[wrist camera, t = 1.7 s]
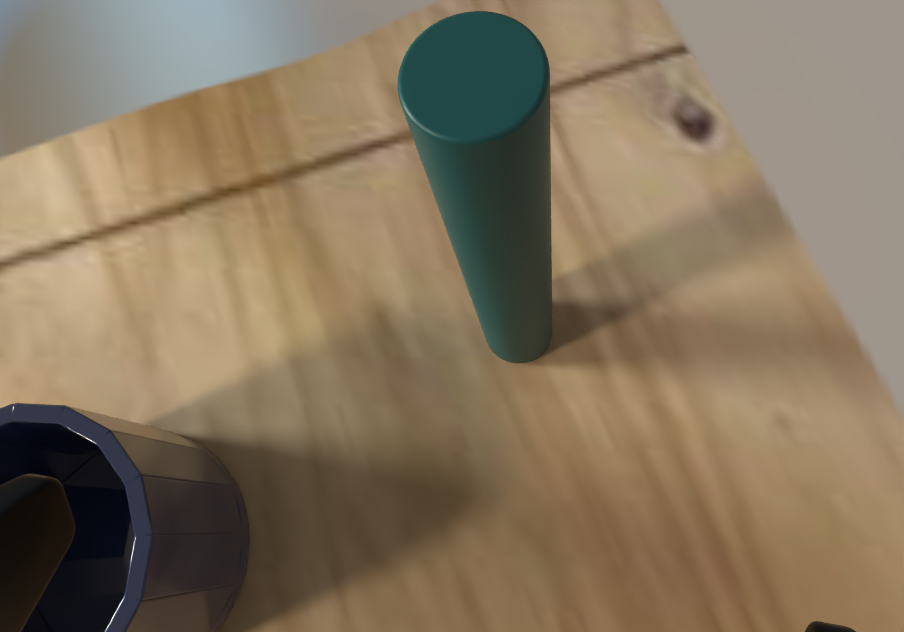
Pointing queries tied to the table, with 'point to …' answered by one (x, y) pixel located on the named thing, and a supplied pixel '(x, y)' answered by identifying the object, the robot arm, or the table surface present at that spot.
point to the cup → (131, 522)
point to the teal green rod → (489, 166)
